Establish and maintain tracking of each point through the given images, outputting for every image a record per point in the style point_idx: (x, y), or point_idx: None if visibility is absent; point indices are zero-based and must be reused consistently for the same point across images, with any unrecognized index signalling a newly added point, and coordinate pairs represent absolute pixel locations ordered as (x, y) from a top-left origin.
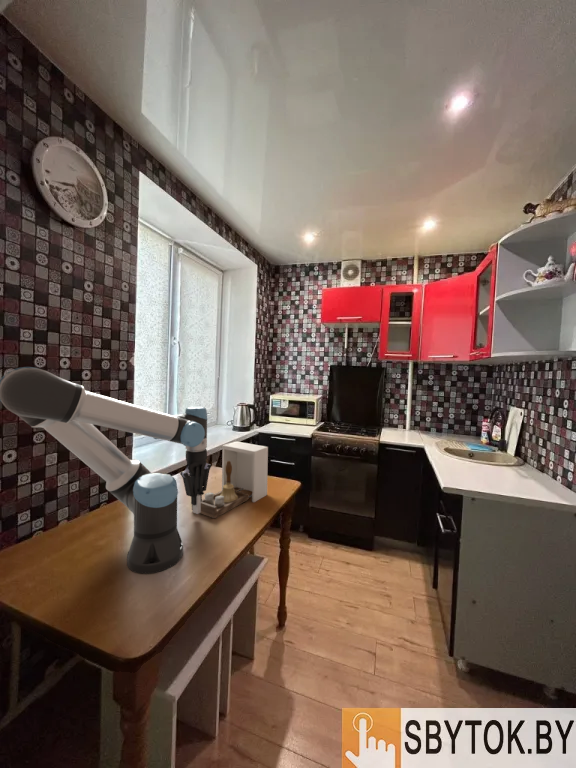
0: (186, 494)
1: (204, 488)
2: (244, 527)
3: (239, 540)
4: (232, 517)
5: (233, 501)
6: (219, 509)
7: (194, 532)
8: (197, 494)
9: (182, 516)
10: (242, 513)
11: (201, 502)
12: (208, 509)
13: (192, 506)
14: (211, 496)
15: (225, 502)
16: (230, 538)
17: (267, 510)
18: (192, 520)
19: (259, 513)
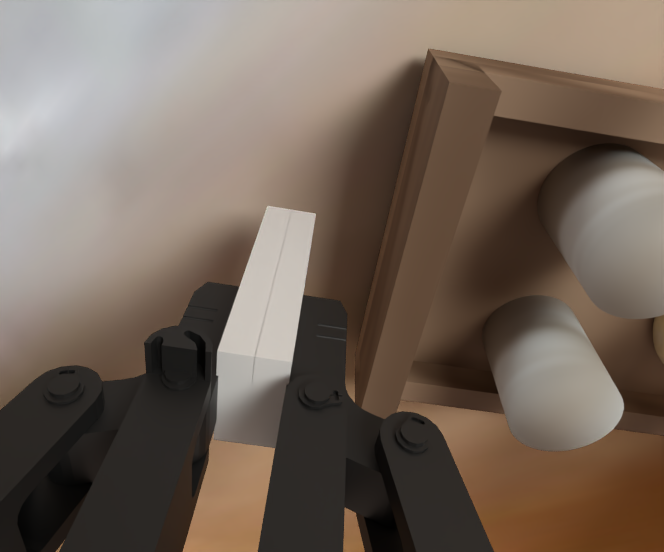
0: (33, 385)
1: (369, 534)
2: (346, 515)
3: (214, 537)
4: (442, 426)
5: (641, 421)
6: (429, 399)
7: (115, 324)
8: (277, 403)
9: (266, 26)
10: (527, 452)
11: (420, 260)
12: (370, 339)
13: (256, 241)
14: (604, 305)
15: (655, 333)
16: (203, 505)
17: (612, 540)
18: (252, 194)
19: (555, 521)
